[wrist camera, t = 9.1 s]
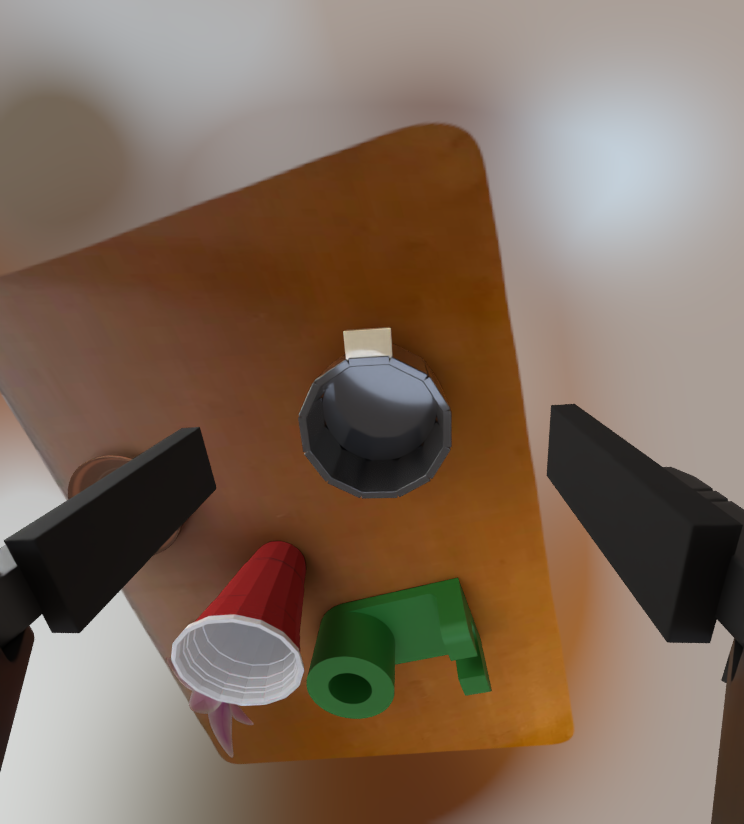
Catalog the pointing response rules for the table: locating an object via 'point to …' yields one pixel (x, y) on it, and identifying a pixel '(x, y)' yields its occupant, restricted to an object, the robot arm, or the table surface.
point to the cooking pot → (376, 418)
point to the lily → (215, 713)
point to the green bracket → (392, 646)
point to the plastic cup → (249, 633)
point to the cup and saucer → (97, 471)
